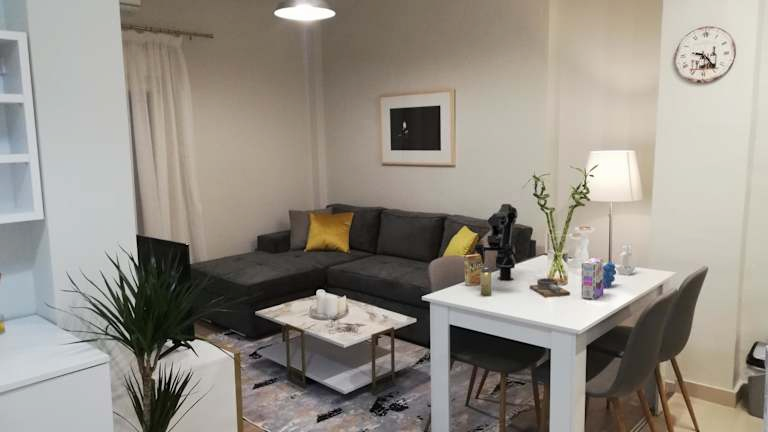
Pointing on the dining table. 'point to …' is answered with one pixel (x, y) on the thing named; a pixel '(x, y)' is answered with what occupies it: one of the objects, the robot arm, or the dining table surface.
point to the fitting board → (548, 292)
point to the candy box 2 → (592, 278)
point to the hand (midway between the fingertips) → (492, 264)
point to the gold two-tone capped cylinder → (485, 281)
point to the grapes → (608, 274)
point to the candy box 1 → (473, 269)
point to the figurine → (625, 261)
